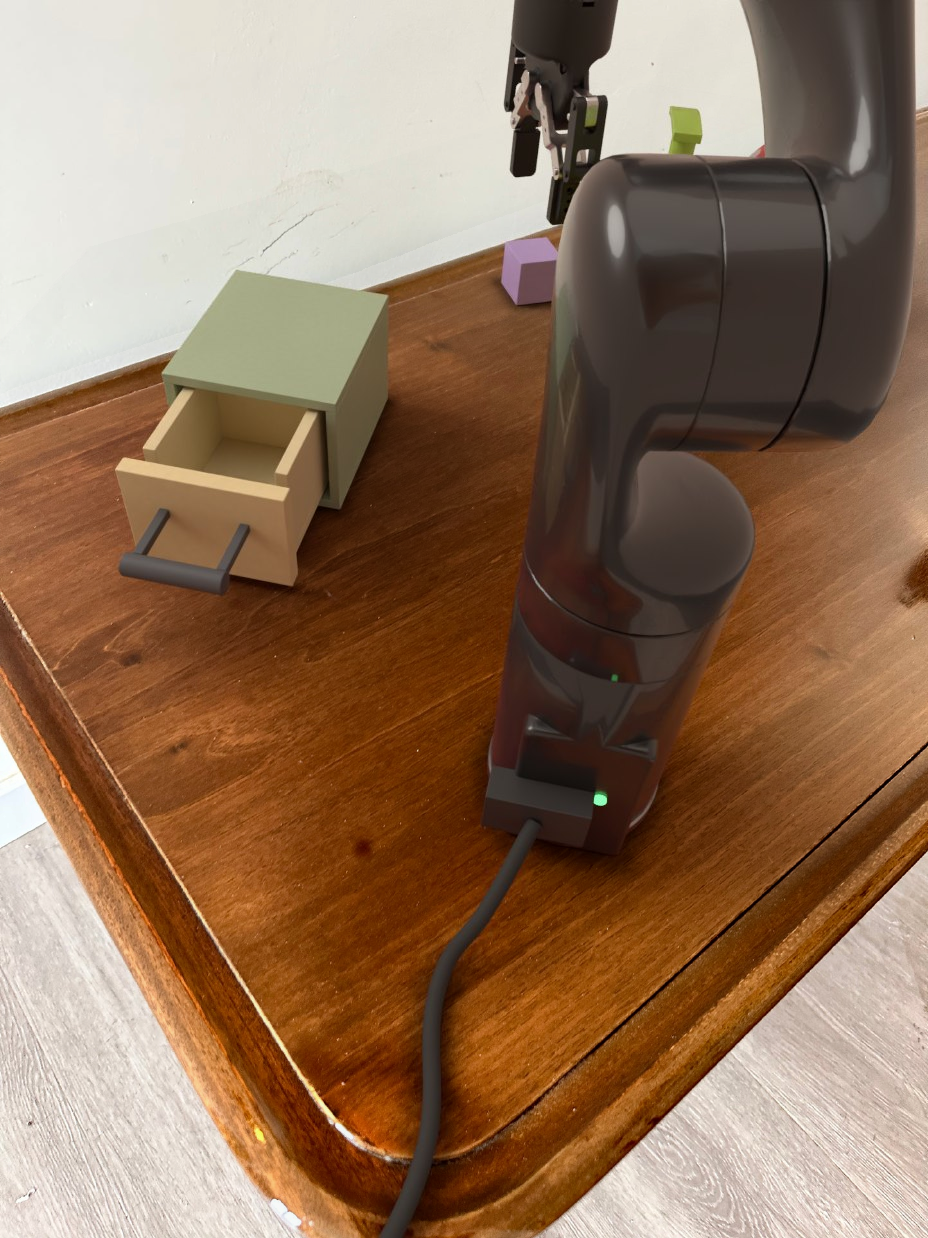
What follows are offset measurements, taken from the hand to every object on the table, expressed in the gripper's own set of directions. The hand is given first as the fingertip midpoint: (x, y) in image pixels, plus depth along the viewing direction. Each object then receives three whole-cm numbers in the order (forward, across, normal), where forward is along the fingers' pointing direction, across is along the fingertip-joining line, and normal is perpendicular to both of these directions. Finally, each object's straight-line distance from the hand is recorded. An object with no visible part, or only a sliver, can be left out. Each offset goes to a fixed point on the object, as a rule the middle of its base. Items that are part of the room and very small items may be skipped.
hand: (540, 198), depth 80 cm
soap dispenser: (+9, +14, +4) cm, 17 cm away
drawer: (+8, +26, -31) cm, 41 cm away
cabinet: (+8, +16, -25) cm, 31 cm away
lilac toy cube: (+8, 0, 0) cm, 9 cm away
